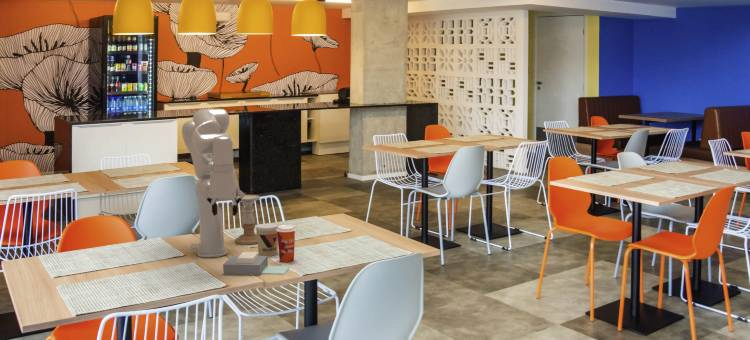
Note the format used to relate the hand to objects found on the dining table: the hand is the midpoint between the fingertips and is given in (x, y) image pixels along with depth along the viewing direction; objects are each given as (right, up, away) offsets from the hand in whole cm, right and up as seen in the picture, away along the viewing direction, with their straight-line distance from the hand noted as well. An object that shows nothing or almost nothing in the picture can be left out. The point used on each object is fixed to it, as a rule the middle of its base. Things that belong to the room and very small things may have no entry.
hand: (225, 214), depth 293 cm
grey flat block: (+8, -22, +3) cm, 23 cm away
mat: (+19, -22, +2) cm, 29 cm away
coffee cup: (+13, -18, +27) cm, 35 cm away
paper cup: (+22, -20, +16) cm, 33 cm away
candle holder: (+1, -15, +47) cm, 50 cm away
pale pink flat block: (+9, -18, +2) cm, 20 cm away
